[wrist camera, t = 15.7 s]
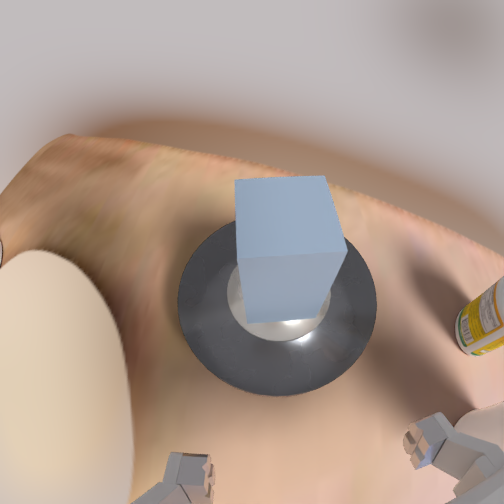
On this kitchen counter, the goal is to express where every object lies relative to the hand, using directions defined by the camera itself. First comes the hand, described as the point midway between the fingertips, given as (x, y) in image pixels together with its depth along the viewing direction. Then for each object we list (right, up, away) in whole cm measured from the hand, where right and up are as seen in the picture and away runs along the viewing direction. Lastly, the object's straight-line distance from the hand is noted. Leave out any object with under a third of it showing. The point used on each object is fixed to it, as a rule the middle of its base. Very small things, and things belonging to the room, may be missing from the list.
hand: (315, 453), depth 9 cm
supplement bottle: (+19, 0, +11) cm, 22 cm away
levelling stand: (0, +3, +14) cm, 14 cm away
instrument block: (-1, +5, +10) cm, 12 cm away
